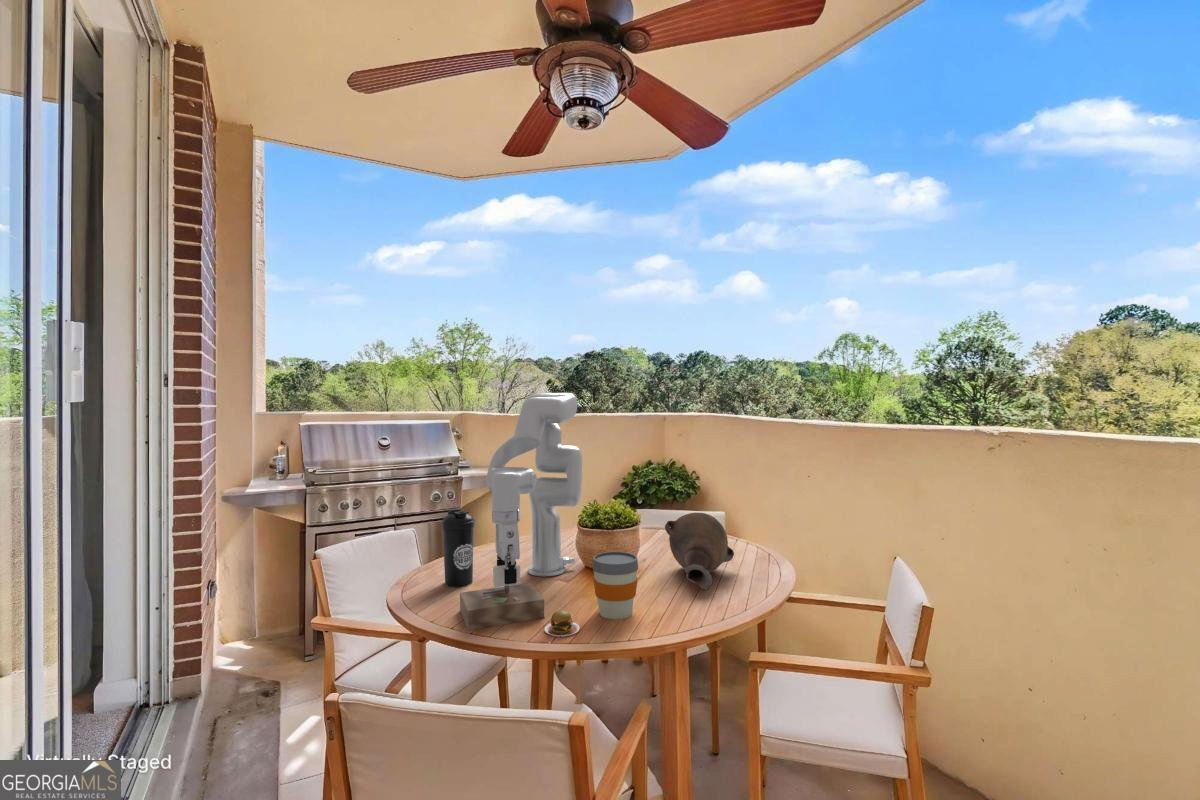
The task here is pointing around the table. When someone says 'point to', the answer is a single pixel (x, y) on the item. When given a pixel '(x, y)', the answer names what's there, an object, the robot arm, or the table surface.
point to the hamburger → (561, 623)
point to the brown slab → (501, 606)
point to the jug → (699, 546)
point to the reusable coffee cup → (615, 583)
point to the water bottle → (458, 548)
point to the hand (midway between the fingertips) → (506, 578)
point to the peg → (502, 579)
